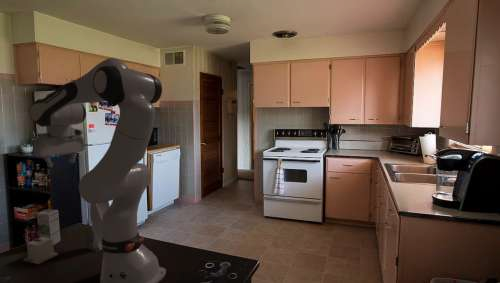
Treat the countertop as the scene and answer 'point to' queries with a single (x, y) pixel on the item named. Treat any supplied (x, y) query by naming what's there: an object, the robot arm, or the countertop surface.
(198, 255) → the countertop surface
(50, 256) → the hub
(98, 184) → the robot arm
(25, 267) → the countertop surface
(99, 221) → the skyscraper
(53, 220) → the syrup box
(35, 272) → the countertop surface
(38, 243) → the knob
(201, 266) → the countertop surface
